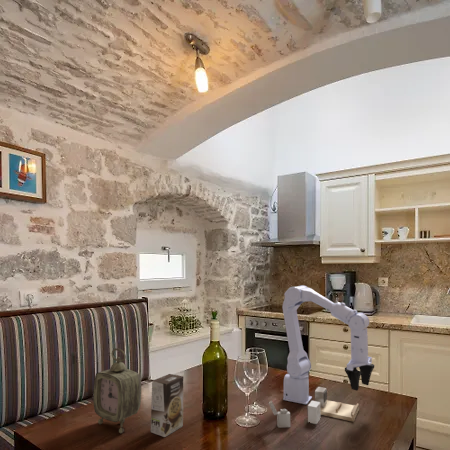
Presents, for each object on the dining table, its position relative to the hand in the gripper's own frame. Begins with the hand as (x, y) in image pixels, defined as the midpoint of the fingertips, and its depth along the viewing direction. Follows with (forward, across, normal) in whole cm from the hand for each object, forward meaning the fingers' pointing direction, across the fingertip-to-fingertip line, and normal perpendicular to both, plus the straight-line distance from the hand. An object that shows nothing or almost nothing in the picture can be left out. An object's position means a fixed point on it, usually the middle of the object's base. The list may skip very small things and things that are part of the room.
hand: (360, 387), depth 129 cm
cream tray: (+10, -3, +8) cm, 13 cm away
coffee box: (+10, -56, +37) cm, 68 cm away
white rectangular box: (+10, -15, +9) cm, 20 cm away
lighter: (+10, -27, +14) cm, 33 cm away
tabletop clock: (+10, -67, +51) cm, 85 cm away
